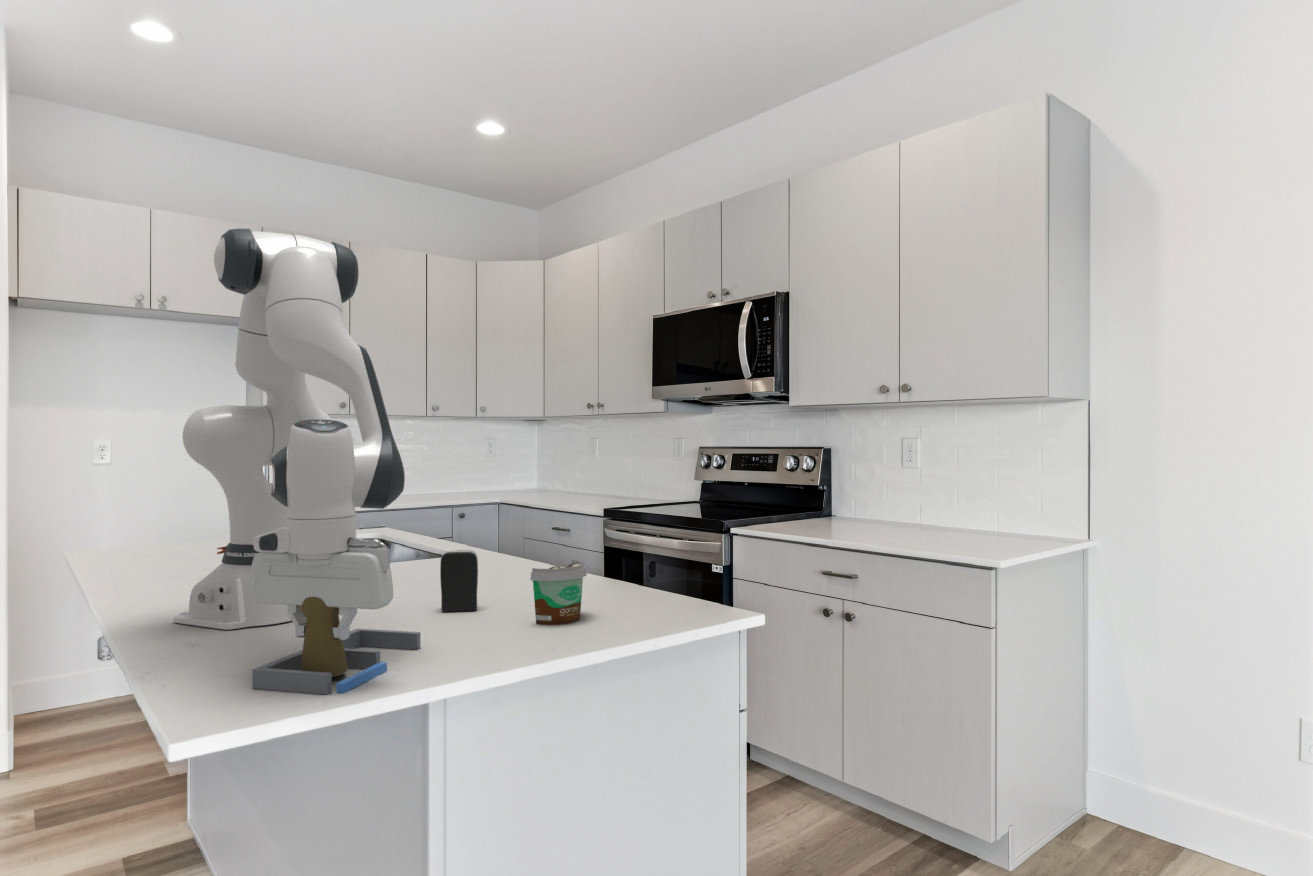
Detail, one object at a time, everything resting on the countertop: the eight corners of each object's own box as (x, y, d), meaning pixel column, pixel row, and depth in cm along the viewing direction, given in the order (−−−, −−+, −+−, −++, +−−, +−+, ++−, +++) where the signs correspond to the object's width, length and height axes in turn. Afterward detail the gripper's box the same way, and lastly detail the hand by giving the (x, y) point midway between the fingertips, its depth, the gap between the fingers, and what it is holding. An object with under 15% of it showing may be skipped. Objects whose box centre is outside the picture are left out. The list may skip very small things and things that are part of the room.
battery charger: (479, 607, 154) (479, 548, 154) (477, 611, 150) (477, 551, 150) (442, 608, 153) (442, 549, 153) (440, 613, 149) (439, 552, 149)
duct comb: (252, 688, 105) (252, 669, 105) (357, 644, 127) (357, 628, 127) (338, 695, 102) (338, 676, 102) (430, 648, 124) (430, 632, 124)
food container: (558, 630, 136) (557, 571, 136) (530, 625, 139) (530, 568, 139) (600, 616, 146) (600, 561, 146) (574, 612, 149) (573, 559, 149)
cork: (330, 680, 105) (328, 597, 105) (290, 678, 107) (288, 596, 107) (356, 667, 111) (354, 588, 111) (317, 665, 113) (315, 588, 113)
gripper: (402, 536, 110) (402, 636, 110) (275, 532, 114) (275, 628, 114) (375, 542, 103) (376, 648, 104) (242, 538, 108) (243, 639, 108)
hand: (322, 638), depth 109 cm, fingers closed on cork, 4 cm apart
